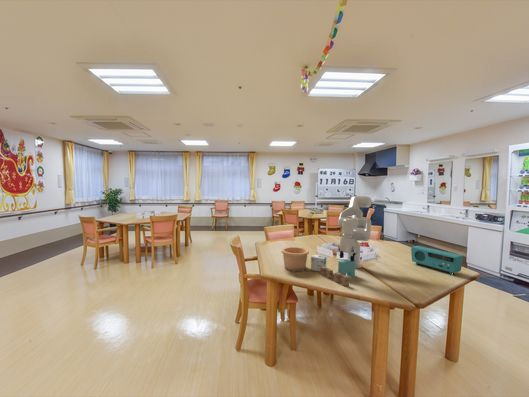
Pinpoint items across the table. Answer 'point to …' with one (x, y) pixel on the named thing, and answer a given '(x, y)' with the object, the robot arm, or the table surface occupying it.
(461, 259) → the radio
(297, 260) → the pottery
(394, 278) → the table surface
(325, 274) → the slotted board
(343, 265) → the teal panel
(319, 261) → the light bulb box
